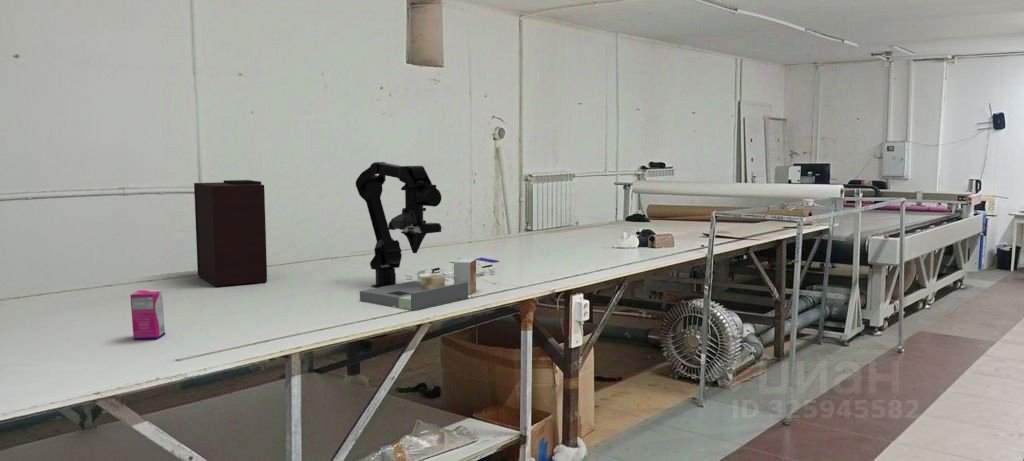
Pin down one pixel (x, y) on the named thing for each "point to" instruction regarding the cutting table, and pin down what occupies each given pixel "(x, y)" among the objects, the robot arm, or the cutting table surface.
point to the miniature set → (437, 270)
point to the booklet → (484, 260)
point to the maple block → (432, 282)
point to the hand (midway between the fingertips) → (414, 253)
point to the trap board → (414, 295)
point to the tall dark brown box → (231, 232)
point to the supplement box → (147, 314)
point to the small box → (466, 273)
